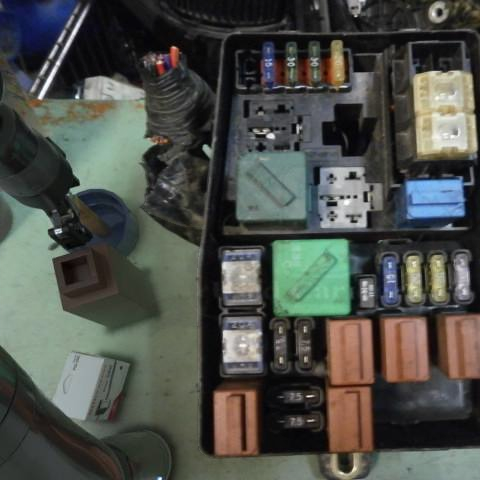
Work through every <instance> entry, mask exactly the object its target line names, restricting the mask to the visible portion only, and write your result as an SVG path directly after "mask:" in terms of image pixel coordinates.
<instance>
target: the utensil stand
mask: <svg viewBox="0 0 480 480" xmlns="http://www.w3.org/2000/svg"><path fill="white" fill-rule="evenodd" d="M51 262H52V265H53V270H54V275H55V280H56V285H57V289H58V294H59V298H60V299H59V300H60V304H61V307H62V311H63V312H65V313H69V314H72V315H74V316H76V317H79V318H82V319H85V320H87V321H91V322H93V323H96V324H98V325H101V326H103V327H106V328H108V329H114V328H118V327H121V326H124V325H126V324H129V323H132V322H135V321H138V320H142V319H146V318H148V317H151V316H154V315H156V311H155V308H154V304H153V301H152V296H151V293H150V288H149V285H148V281H147V276H146V274H145V272H144V271H143V270H142V269H140V268H139V267H138V266H136V265H135V264H134V263H133V262H132V261H131V260H129V259H128V258H127V257H124V256H123V255H122V254H121V253H119V252H118V251H117V250H116V249H114V248H113V247H112V246H111V245H110V244H108V243H107V242H105V243H102V244H98V245H95V246H92V247H89V248H85V249H82V250H79V251H75V252H72V253H69V252H68V253H66V254H62V255H59V256H56V257H52V258H51Z"/></svg>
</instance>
